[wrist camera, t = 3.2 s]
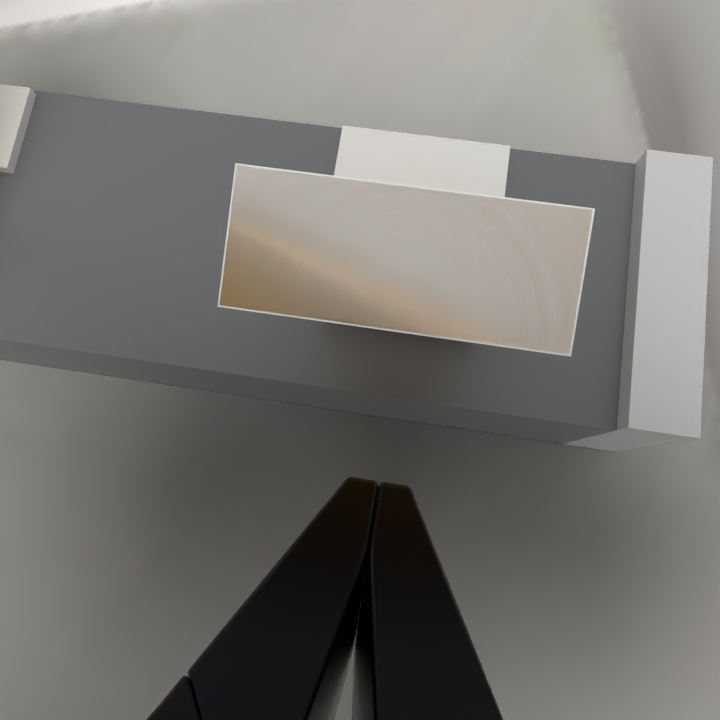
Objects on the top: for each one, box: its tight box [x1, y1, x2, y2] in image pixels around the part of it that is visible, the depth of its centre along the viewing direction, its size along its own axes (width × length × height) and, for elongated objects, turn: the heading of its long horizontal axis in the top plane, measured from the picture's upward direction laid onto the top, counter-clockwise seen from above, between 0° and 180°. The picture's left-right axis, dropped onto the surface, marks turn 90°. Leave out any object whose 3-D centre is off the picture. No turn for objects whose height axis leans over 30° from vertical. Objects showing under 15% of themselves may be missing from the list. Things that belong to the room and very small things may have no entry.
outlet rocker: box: [217, 163, 595, 357], centre depth 11 cm, size 2×4×8 cm, turn 81°
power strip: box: [0, 84, 713, 452], centre depth 18 cm, size 7×26×5 cm, turn 81°
